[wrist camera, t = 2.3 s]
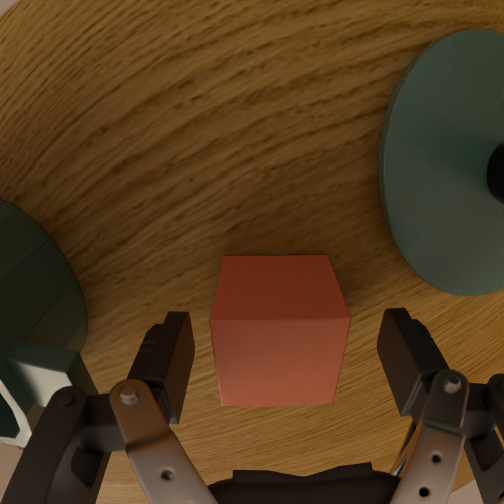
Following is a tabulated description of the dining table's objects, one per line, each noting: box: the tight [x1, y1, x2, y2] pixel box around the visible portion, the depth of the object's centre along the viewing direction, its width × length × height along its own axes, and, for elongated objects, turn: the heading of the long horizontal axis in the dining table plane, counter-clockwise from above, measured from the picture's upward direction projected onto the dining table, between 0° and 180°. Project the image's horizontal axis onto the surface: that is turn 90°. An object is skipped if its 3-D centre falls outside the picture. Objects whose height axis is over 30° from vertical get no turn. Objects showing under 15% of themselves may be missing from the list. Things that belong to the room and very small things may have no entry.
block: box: [209, 255, 351, 406], centre depth 11 cm, size 4×4×4 cm
